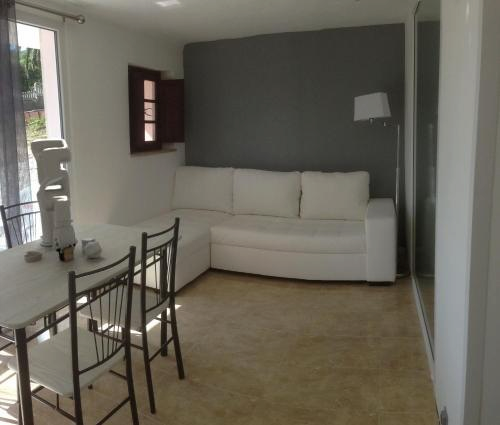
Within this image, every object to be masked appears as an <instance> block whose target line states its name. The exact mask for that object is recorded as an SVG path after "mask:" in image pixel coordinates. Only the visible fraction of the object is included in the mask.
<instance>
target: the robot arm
mask: <svg viewBox="0 0 500 425" xmlns="http://www.w3.org/2000/svg"><path fill="white" fill-rule="evenodd" d="M30 150H31V153H32V155H33V157H34V159H35V162H36V170H37V171H36V172H37V182H38V183H39V185H40V186H39V187H38V191H37V192H36V200H37V204H38V208H39V212H40V214H39V215H40V223H41V233H42V235H41V236H40V237H39V238H40V239H42V240H41V241H40V245H41V246H44V247H51V249H52V250H54V251H55V252H57V253H58V259H59V261H63V262H65V261H64V253H63V247H65V246H69V247H73V251H75V248H76V246H77V244H78V243H79V240H78V239H77V238H76V234H75V229H74V225H73V222H74V220H73V219H72V213H71V205H72V202H71V184H70V175H69V173H68V170H67V169H66V168H62V167H61V165H62V164H63V165H64V164H70V163H71V161H72V153H71V150H70V147H69V146H68V143H67V141H65V139H63V138H47V139H45V138H43V139H42V138H41V139H35V140H32V141H31V142H30ZM55 186H59V187H55Z"/></svg>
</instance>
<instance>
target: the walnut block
mask: <svg viewBox="0 0 500 425" xmlns="http://www.w3.org/2000/svg"><path fill="white" fill-rule="evenodd" d="M74 251H75V250H74ZM74 251H73V247H69V246H65V247H63V253H64V261H63V262H69V261H71V260H74V259H75V252H74Z"/></svg>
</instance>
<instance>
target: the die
mask: <svg viewBox="0 0 500 425" xmlns="http://www.w3.org/2000/svg"><path fill="white" fill-rule="evenodd" d="M83 250H84V251H83V252H84V253H85V254H84V255H86V258H87V259H99V257H100V255H101V253H102V252H103V249H102V247H101V244H100V243H99V242H98V241H95V242H88V243H87V245H86V246H85V248H84V249H83Z"/></svg>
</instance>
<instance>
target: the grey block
mask: <svg viewBox="0 0 500 425" xmlns="http://www.w3.org/2000/svg"><path fill="white" fill-rule="evenodd" d="M88 242H96V238H94V237H86V238H83V239H81V249H82V251H83V252H84V250H83V249H84V248H85V246H86V245H87V243H88Z"/></svg>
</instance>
